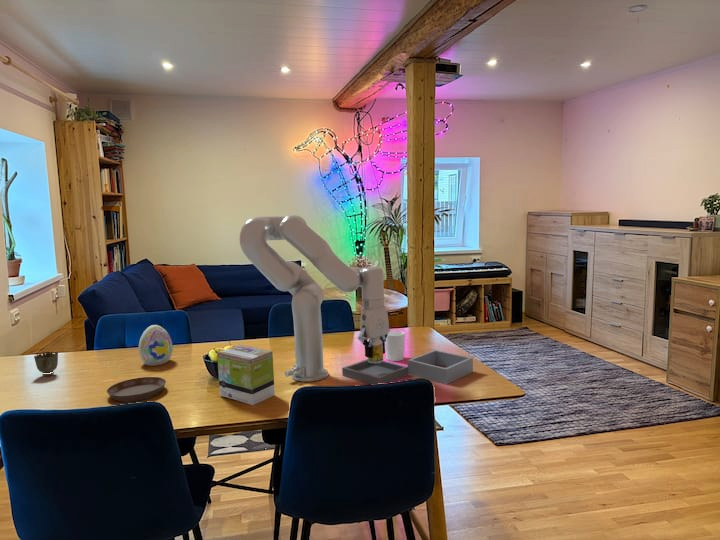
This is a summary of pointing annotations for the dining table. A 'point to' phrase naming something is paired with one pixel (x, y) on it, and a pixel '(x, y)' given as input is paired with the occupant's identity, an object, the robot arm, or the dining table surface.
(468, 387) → the dining table surface
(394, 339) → the white cup
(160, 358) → the decorative egg
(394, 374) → the tray
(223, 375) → the tea box
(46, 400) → the dining table surface
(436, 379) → the gray square frame
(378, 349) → the supplement bottle
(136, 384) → the plant saucer
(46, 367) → the cup
